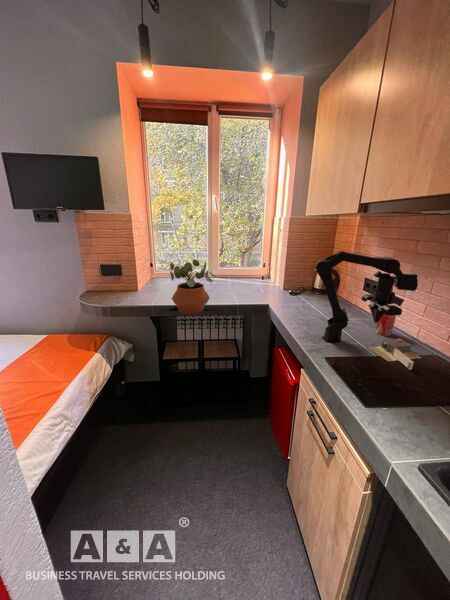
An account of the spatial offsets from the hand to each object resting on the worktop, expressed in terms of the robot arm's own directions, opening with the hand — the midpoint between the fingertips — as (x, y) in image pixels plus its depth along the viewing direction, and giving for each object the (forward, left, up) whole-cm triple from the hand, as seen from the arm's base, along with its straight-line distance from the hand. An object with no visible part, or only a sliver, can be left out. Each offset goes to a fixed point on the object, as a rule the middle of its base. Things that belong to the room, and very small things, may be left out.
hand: (375, 322), depth 107 cm
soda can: (+16, +10, -12) cm, 22 cm away
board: (+6, -7, -12) cm, 15 cm away
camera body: (+8, -5, -11) cm, 15 cm away
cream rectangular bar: (+2, -14, -11) cm, 18 cm away
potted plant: (-74, +58, -12) cm, 95 cm away
